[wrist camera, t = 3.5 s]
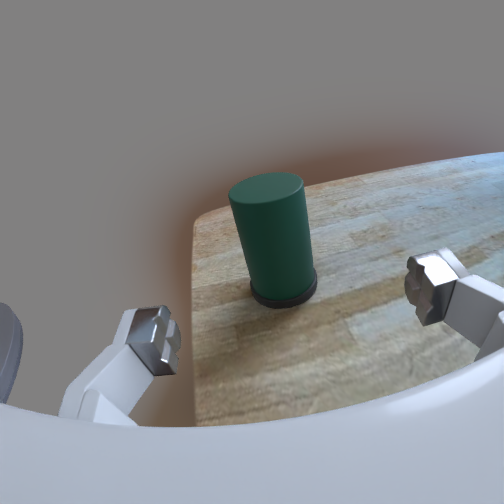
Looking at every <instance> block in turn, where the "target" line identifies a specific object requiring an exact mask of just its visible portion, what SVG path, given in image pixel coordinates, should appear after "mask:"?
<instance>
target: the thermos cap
mask: <svg viewBox="0 0 504 504" xmlns="http://www.w3.org/2000/svg"><path fill="white" fill-rule="evenodd" d="M228 196H229V200H230V204H231V208H232V212H233V215H234V219H235V223H236V226H237V230H238V234H239V237H240V241H241V245H242V249H243V252H244V256H245V260H246V263H247V267H248V271H249V274H250V278H251V280H250V287H251V291H252V294H253V296H254V298H255V299H256V300H257V301H258V302H259V303H260V304H262V305H264V306H267V307H270V308H280V309H281V308H289V307H293V306H296V305H299V304H301V303H303V302H304V301H306V300H307V299H309V298H310V297H311V296H312V295H313V293H314V292H315V290H316V287H317V274H316V271H315V269H314V267H313V257H312V248H311V239H310V230H309V222H308V214H307V206H306V199H305V191H304V184H303V180H302V179H301V178H300V177H299V176H297V175H294V174H291V173H283V172H282V173H281V172H280V173H279V172H278V173H266V174H261V175H257V176H253V177H250V178H248V179H245V180H243V181H241V182H239V183H237V184H236V185H235V186H234V187H232V188H231V190H230V191H229V195H228Z"/></svg>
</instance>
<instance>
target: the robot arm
mask: <svg viewBox="0 0 504 504" xmlns="http://www.w3.org/2000/svg"><path fill="white" fill-rule="evenodd" d="M407 268H408V270H409V273H408V274H407V275H406V277H405V283H404V286H405V293H406V296H407V299H408V300H409V302H410V304H412V305H414V306H416V312H415V313H416V315H417V316H418V318H419V320H420V322H421V324H422V325H423V326H427V325H430V324H433V323H437V322H440V321H443V320H444V321H443V322H445V323H446V324H448V325H449V326H450V327H452V328H453V329H455V330H456V331H457V332H459V333H460V334H461V335H463V336H464V337H465V338H467V339H468V340H470V341H471V342H472V343H474V344H475V345H476V346H478V347H479V348H480V350H479V352H478V354H477V356H476V357H475V360H474V362H473V363H471V364H469V365H467V366H465V367H463V368H460V369H458V370H456V371H453V372H451V373H449V374H446V375H444V376H441V377H439V378H436V379H434V380H431V381H429V382H426V383H423V384H421V385H418V386H415V387H412V388H409V389H406V390H403V391H400V392H397V393H394V394H391V395H388V396H385V397H381V398H378V399H374V400H371V401H367V402H363V403H360V404H356V405H352V406H348V407H344V408H339V409H335V410H331V411H326V412H321V413H316V414H311V415H306V416H300V417H294V418H288V419H281V420H274V421H267V422H258V423H249V424H239V425H226V426H209V427H143V426H138V425H137V423H136V422H134V421H133V420H132V419H131V418H129V417H128V414H129V413H130V411H131V410H132V409H133V407H134V406H135V405H136V403H137V402H138V400H139V399H140V397H141V396H142V394H143V393H144V391H145V390H146V389H147V387H148V386H149V385H150V383H151V382H152V380H153V379H154V376H162V375H173V374H176V372H177V366H178V359H179V358H178V357H177V355H176V354H175V353H176V352H177V351H178V350H179V349H180V346H181V334H180V330H179V327H178V325H177V323H176V322H175V321H173V320H171V319H170V314H171V313H170V311H169V309H168V308H167V306H164V305H161V306H153V307H145V308H138V309H130V310H126V311H125V312H124V313H123V315H122V318H121V321H120V323H119V326H118V329H117V332H116V334H115V337H114V340H113V343H112V345H110V346H107V347H106V348H105V349H104V350H103V351H102V352H101V353H100V354H99V355H98V356H97V357H96V358H95V359H94V360H93V361H92V362H91V363H90V364H89V365H88V366H87V367H86V368H85V369H84V370H83V371H82V372H81V373H80V374H79V375H78V376H77V377H76V378H75V379H74V380H73V381H72V382H71V383H70V384H69V385H68V386H67V388H66V391H65V394H64V397H63V400H62V403H61V406H60V409H59V412H58V416H51V415H47V414H42V413H38V412H33V411H29V410H25V409H21V408H17V407H14V406H10V405H7V404H3V403H0V504H504V288H503V287H501V286H498V285H496V284H494V283H492V282H490V281H488V280H486V279H484V278H482V277H479V276H477V275H475V274H474V275H471V274H470V273H469V272H468V271H467V269H466V268H465V267H464V266H463V265H462V263H461V262H460V261H459V260H458V259H457V258H456V256H455V255H454V254H453V253H452V252H451V251H450V250H449V249H448V248H446V247H444V248H441V249H437V250H434V251H431V252H427V253H423V254H419V255H415V256H411V257H409V259H408V261H407Z"/></svg>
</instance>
